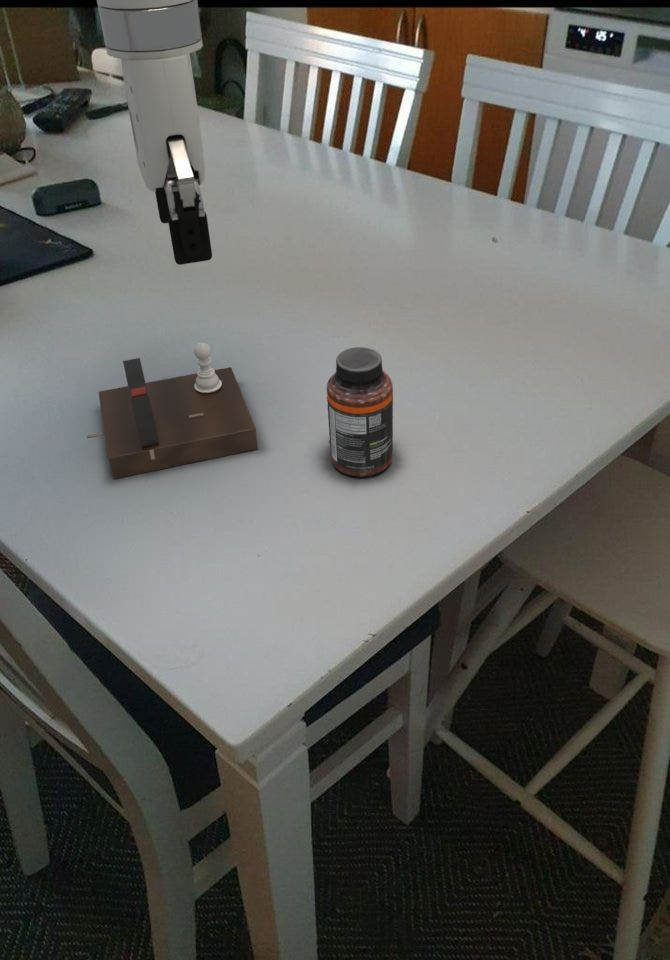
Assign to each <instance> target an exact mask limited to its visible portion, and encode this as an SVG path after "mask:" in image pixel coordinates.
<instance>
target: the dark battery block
mask: <svg viewBox="0 0 670 960" xmlns="http://www.w3.org/2000/svg"><path fill="white" fill-rule="evenodd" d="M141 361H142V360H141V358H140V357H136V358H131V359H126V360H125V359H124V360H123V362H122V364H123V367H124V368H123V369H124V373H125V378H126V383H127V386H128V388H129V393H130V398H131V402H132V407H133V411H134V415H135V420H136V424H137V428H138V433H139V437H140V441H141V445H142V448H143V447H148V446H153V445H158V444H159V441H158V437H157V432H156V428H155V423H154V418H153V414H152V409H151V404H150V400H149V395H148V391H147V387H146V383H147V382H146V377H145V373H144V370H143V366H142V362H141Z"/></svg>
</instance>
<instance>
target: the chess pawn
mask: <svg viewBox="0 0 670 960" xmlns="http://www.w3.org/2000/svg"><path fill="white" fill-rule="evenodd" d="M193 354H194V356H195V357H196V358H197V359H198V360H197V365H198V366H200V367H199V369H198V371H197V372H196V373H197V375H198V376H197V377H196V383H195V385H194V388H195V389H196V390H197V391H199V392H201V393H212V392H215V391H217V390H218V389H219V388H220V387H221V386H222V382H221V381H220V380H219V377H218V376H217V374H216V373H215V370H216V369H214V368H213V366H211V364H212V359H211V358H210V356H211V354H212V348H211V346H210V345H209V344H208V343H207V342H204V341H203V342H198V343H196V345H195V346H194V348H193Z"/></svg>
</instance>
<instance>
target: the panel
mask: <svg viewBox="0 0 670 960" xmlns="http://www.w3.org/2000/svg"><path fill="white" fill-rule="evenodd" d="M214 370H215V373H216V374H217V376H218V377H219V380H220V381H221V382H222V386H221V387H220V388H219V389H218V390H217V391H215V392H212V393H201V392H199V391H197V390H196V389H195V388H194V385H195V383H196V377H197V376H198V375H197V372H196V373H191V374H186V375H180V376H176V377H170V378H164V379H159V380H154V381H148V382H146V387H147V391H148V395H149V400H150V404H151V409H152V414H153V418H154V423H155V428H156V432H157V437H158V441H159V444H158V445H153V446H148V447H143V448H142V445H141V441H140V437H139V433H138V428H137V424H136V420H135V415H134V411H133V407H132V402H131V398H130V393H129V388H128V385H127V386H126V385H125V386H120V387H115V388H110V389H105V390H99V391H98V397H99V405H100V412H101V420H102V427H103V432H98V433H92V434H87V435H86V438H87V439H88V440H89V439H93V438H98V437H99V438H100V437H102V436H103V433H104V441H105V447H106V454H107V455H106V456H107V460H108V464H109V468H110V472H111V475H112V479H113V480H117V479H121V478H125V477H131V476H135V475H140V474H144V473H149V472H154V471H159V470H165V469H169V468H173V467H174V468H175V467H178V466H183V465H188V464H193V463H197V462H203V461H207V460H213V459H216V458H222V457H226V456H233V455H237V454H241V453H245V452H251V451H256V450H258V449H259V446H258V438H257V429H256V426H255V424H254V420H253V418H252V416H251V414H250V411H249V409H248V406H247V403H246V401H245V398H244V396H243V394H242V390H241V388H240V385H239V383H238V381H237V378H236V376H235V373H234V370H233V368H232V366H229V367H224V368H219V369H214Z"/></svg>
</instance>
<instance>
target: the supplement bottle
mask: <svg viewBox="0 0 670 960" xmlns="http://www.w3.org/2000/svg"><path fill="white" fill-rule="evenodd" d="M335 366H336V367H335V372H334V373H333V374H332V375H331V376H330V377H329V379H328V381H327V384H326V401H327V417H328V419H327V420H328V434H329V440H328V444H329V453H330V459H331V463H332V465H333V466H334V467H335V468H336V469H337V470H338V471H339V472H341V473H342V474H345V475H348V476H353V477H359V478H364V477H370V476H374V475H377V474H379V473H381V472H383V471H384V470H386V469H387V468H388V467H389V466H390V464H391V462H392V460H393V450H394V432H393V431H394V387H393V386H394V385H393V382H392V378H391V377H390V376H389V374H388V373H387V372H386V371H384V370H383V357H382V356H381V353H379V352H378V351H376V349H372V348H370V347H364V346H363V347H362V346H361V347H360V346H359V347H358V346H356V347H355V346H354V347H350V348H347V349H344V350H343V351H341V352H339V353H338V355H337V356H336V359H335Z"/></svg>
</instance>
